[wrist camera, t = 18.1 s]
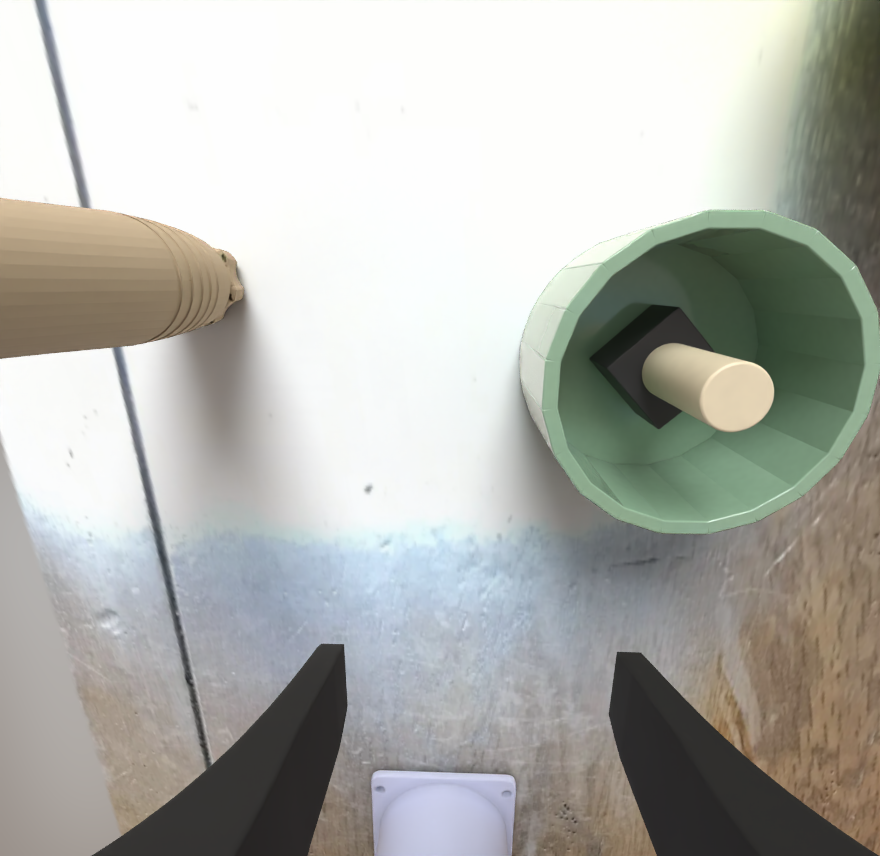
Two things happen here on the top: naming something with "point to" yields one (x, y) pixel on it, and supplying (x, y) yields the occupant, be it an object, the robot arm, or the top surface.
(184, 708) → the top surface
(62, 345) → the handle
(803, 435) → the beaker
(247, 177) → the top surface
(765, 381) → the brush
